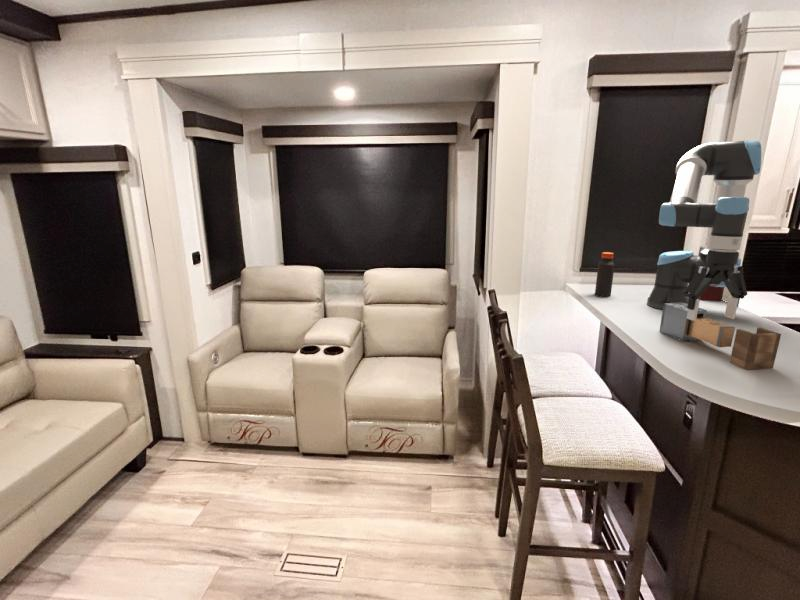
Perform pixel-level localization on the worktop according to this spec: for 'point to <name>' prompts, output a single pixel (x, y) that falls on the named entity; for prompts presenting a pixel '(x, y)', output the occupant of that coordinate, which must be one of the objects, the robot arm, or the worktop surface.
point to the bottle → (605, 275)
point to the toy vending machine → (711, 289)
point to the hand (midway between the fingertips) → (710, 318)
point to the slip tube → (711, 331)
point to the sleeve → (677, 320)
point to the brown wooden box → (755, 349)
